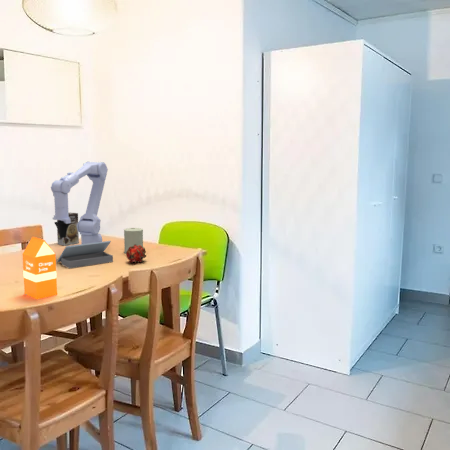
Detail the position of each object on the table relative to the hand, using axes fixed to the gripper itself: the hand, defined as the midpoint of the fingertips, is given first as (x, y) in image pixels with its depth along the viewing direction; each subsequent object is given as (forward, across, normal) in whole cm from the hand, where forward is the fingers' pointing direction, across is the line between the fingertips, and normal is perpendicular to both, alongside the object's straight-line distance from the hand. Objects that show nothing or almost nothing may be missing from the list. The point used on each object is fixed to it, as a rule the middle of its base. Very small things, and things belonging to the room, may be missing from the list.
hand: (62, 237), depth 220 cm
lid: (+6, +9, +6) cm, 12 cm away
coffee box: (+11, -34, +16) cm, 39 cm away
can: (+11, +5, +33) cm, 35 cm away
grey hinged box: (+10, +12, +6) cm, 17 cm away
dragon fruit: (+11, +23, +24) cm, 35 cm away
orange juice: (+11, +45, -26) cm, 53 cm away
